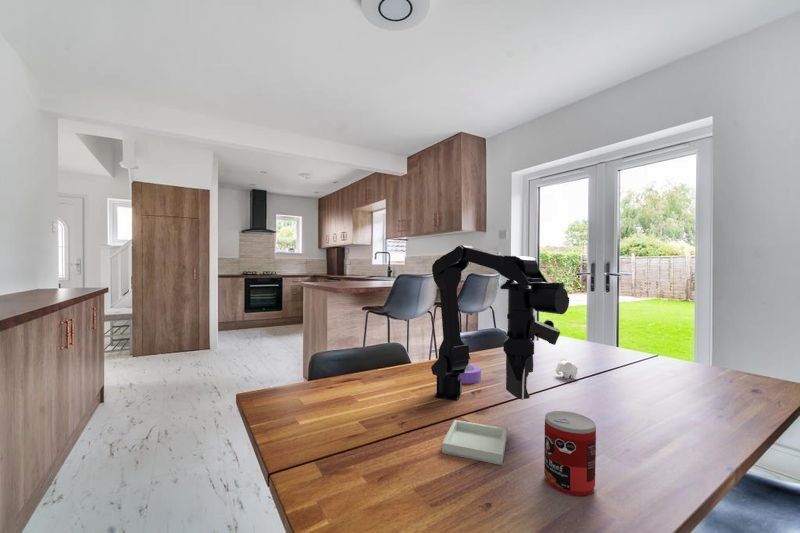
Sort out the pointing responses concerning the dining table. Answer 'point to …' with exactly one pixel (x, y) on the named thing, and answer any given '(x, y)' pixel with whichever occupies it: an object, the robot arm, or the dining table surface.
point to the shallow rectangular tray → (476, 442)
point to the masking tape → (471, 374)
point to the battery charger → (518, 386)
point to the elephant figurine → (566, 369)
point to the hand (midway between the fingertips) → (519, 375)
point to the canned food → (570, 452)
